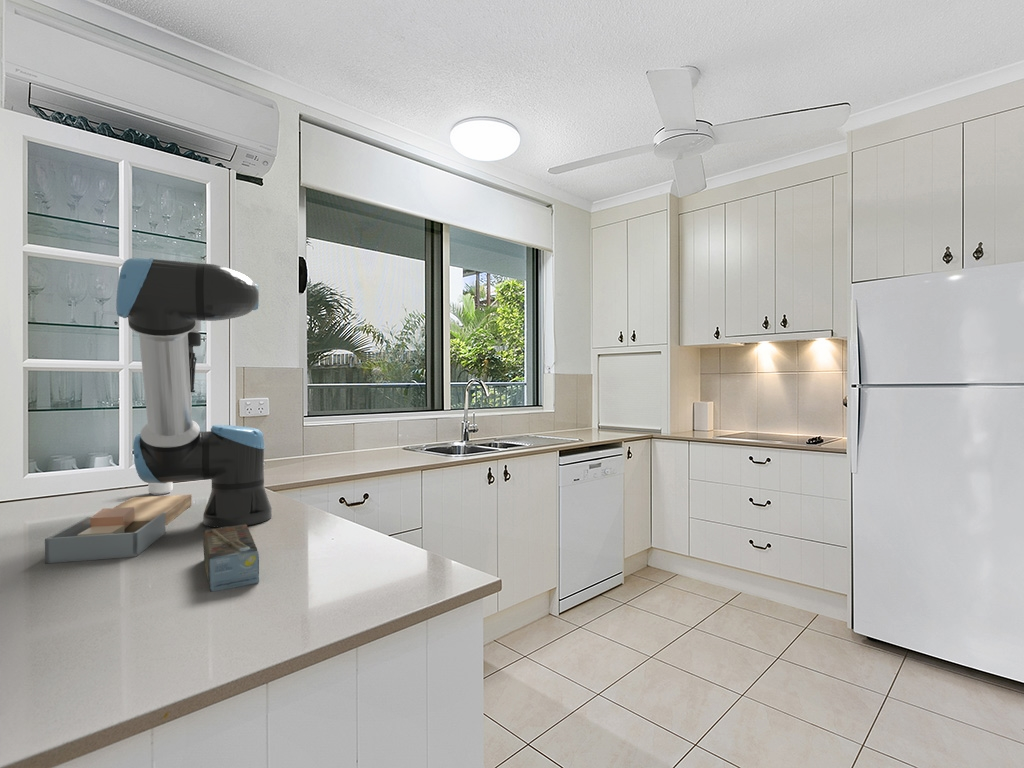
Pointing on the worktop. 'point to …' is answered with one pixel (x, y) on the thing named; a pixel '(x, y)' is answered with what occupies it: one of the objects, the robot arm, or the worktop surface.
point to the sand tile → (103, 530)
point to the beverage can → (160, 488)
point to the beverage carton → (230, 557)
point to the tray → (101, 542)
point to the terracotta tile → (113, 517)
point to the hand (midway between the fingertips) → (185, 415)
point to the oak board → (155, 509)
